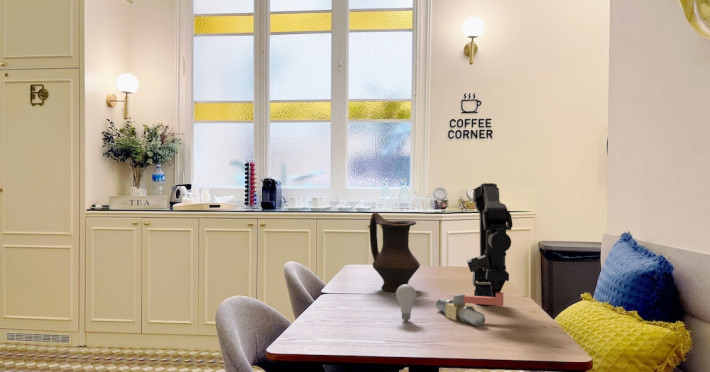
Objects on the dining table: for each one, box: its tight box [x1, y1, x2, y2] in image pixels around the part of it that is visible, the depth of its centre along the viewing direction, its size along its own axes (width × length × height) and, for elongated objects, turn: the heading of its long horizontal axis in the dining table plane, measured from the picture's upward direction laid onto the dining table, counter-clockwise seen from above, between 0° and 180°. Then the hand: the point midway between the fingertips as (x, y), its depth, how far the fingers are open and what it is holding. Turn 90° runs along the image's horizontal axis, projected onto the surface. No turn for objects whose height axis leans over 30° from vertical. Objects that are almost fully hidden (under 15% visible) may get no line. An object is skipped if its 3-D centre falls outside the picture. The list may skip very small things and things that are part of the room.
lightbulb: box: [395, 283, 417, 322], centre depth 166 cm, size 6×6×11 cm
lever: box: [452, 292, 504, 307], centre depth 168 cm, size 15×4×4 cm, turn 70°
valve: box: [435, 297, 486, 327], centre depth 170 cm, size 6×22×5 cm, turn 20°
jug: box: [369, 212, 421, 293], centre depth 219 cm, size 21×18×30 cm
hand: (495, 299), depth 169 cm, fingers closed
